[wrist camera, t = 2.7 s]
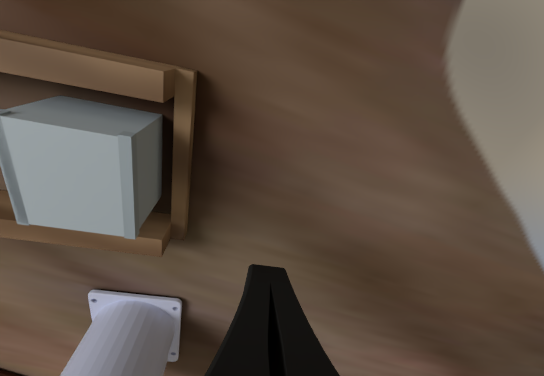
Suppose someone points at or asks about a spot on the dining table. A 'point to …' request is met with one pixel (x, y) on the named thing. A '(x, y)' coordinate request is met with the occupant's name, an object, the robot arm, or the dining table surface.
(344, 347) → the dining table surface
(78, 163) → the box
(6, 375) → the diary
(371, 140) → the dining table surface
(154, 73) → the bay
